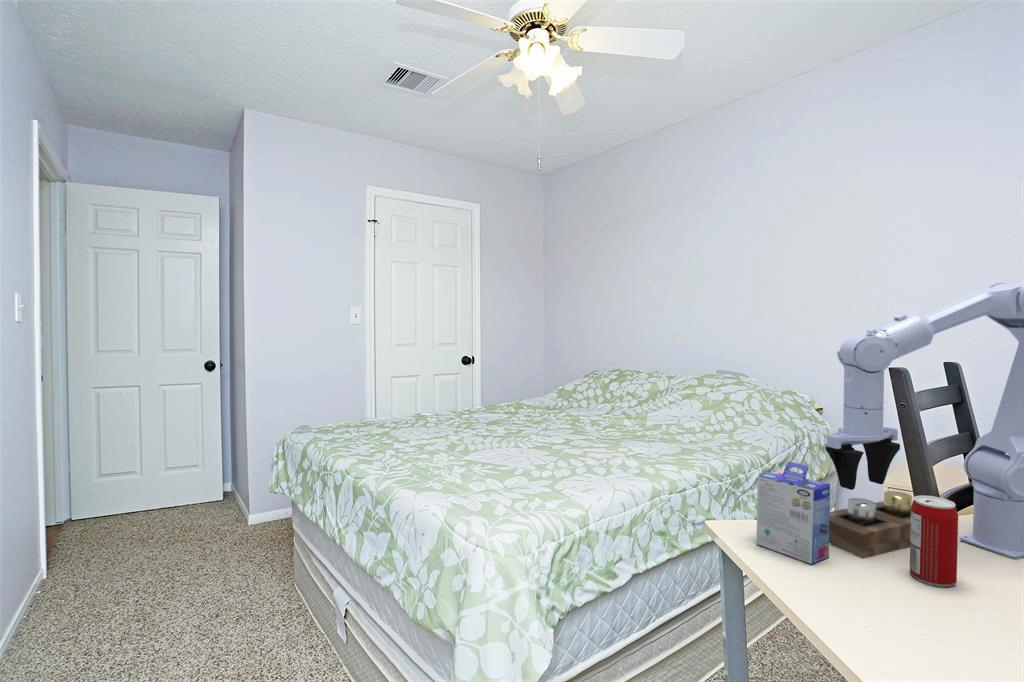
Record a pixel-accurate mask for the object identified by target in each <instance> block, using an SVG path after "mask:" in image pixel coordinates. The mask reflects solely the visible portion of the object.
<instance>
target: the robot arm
mask: <svg viewBox="0 0 1024 682" xmlns="http://www.w3.org/2000/svg"><path fill="white" fill-rule="evenodd" d="M985 316H986V317H987V318H988V319H990V320H992V321H993V322H995V323H997V324H998V325H1000V326H1001V327H1002V328H1005V329H1006V330H1008V331H1009V332H1010V333H1011V334H1012V336H1013V337H1014V338H1015V339H1016V341H1018V343H1017V344H1018V345H1017V347H1016V351H1015V354H1014V358H1013V361H1012V364H1011V367H1010V370H1009V373H1008V376H1007V379H1006V382H1005V386H1004V389H1003V393H1002V396H1001V399H1000V401H999V405H998V409H997V411H996V415H995V419H994V421H993V424H992V427H991V430H990V431H989V432H987V433H986V434H984V435H982V436H980V437H979V438H977V439H976V441H975V445H974V447H973V449H971V451H970V452H968V453H967V454H966V456H965V459H964V461H963V469H964V472H965V474H966V476H967V477H968V478H970V480H971V486H972V487H973V507H972V508H973V510H972V533H970V534H965V535H963V536H962V535H961V536H959V540H960V541H963V542H965V543H968V544H971V545H974V546H977V547H979V548H982V549H985V550H989V551H992V552H995V553H997V554H1000V555H1004V556H1006V557H1009V558H1012V559H1019V558H1021V557H1024V282H1023V281H1022V282H1011V283H1010V282H1007V283H1006V282H997V283H994V284H991V285H989V286H987V287H982V288H978V289H976V290H974V291H972V292H971V293H969V294H967V295H965V296H963V297H961V298H959V299H957V300H955V301H952V302H951V303H949V304H946V305H945V306H942V307H941V308H940V307H939V308H938V309H936V310H934V311H932V312H930V313H928V314H925V315H924V316H919V315H915V314H908V315H907V314H898V315H895V316H894V317H893V319H894V321H892V322H890V323H887V324H885V325H882V326H880V327H878V328H874V327H871V328H869V329H867V330H866V334H865V336H864V335H863V336H862V335H853V336H850V337H847V338H846V339H845V340H844V341H843V343H842V344H841V345H840V348H839V350H837V352H836V356H837V358H838V360H839V362H840V364H841V365H843V414H842V415H843V419H842V421H843V423H842V425H843V426H842V427H837V428H838V429H837V430H838V431H836V432H834V433H832V434H826V443H825V451H826V452H827V454H828V455H829V458H830V459H831V461H832V462H833V466H834V469H835V471H836V474H837V475H836V476H837V478H838V482H839V485H840V487H841V488H844V489H847V490H850V491H853V490H855V488H856V484H857V476H858V475H857V474H858V468H859V464H860V461H861V459H862V457H863V455H864V453H865V457H866V462H867V478H868V480H869V482H872V483H875V484H878V485H884V483H885V481H886V478H887V474H888V471H889V469H890V465H891V464H892V461H893V459H894V458H895V456H896V455H897V453H899V451H900V450H901V444H900V443H898V442H894V441H898V437H899V436H898V435H899V434H898V432H899V431H898V430H899V429H897V428H892V427H884V406H885V405H884V398H885V395H884V393H885V392H884V391H885V376H884V375H885V370H886V369H888V368H889V366H890V365H891V364H892V362H893V361H895V360H896V359H899V358H901V357H904V356H906V355H908V354H910V353H914V352H915V351H918V350H920V349H923V348H925V347H928V346H929V345H930V344H931V343H933V339H934V336H935V335H936V334H939V333H941V332H944V331H946V330H949V329H952V328H955V327H957V326H960V325H964V324H965V323H968V322H970V321H973V320H977V319H978V318H981V317H985ZM856 445H862V446H863V449H864V450H863V451H861V450H857V449H855V447H853V446H856Z"/></svg>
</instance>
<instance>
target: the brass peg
mask: <svg viewBox="0 0 1024 682" xmlns="http://www.w3.org/2000/svg"><path fill="white" fill-rule="evenodd" d="M912 498H913V497H912V495H911V494H909V493H905V492H902V491H901V492H900V491H896V490H887V491H884V492H883V501H884V512H885V513H888V514H891V515H894V516H897V517H900V518H905V517H910V516H911V506H912V503H913V500H912Z"/></svg>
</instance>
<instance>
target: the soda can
mask: <svg viewBox="0 0 1024 682" xmlns="http://www.w3.org/2000/svg"><path fill="white" fill-rule="evenodd" d="M958 537H959V515H958V510H957V507H956V503H955V502H954V501H951V500H949V499H947V498H943V497H939V496H934V495H916V496H914V497H913V500H912V506H911V532H910V547H909V548H910V549H909V572H910V573H911V575H912V576H913V577H914V578H915V579H916V580H917V581H919V582H921V583H924V584H927V585H930V586H934V587H942V588H944V587H945V588H946V587H947V588H948V587H952V586H953V585H954V584H956V583H957V579H958V578H957V577H958V543H959V542H958V539H959V538H958Z"/></svg>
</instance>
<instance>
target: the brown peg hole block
mask: <svg viewBox="0 0 1024 682" xmlns="http://www.w3.org/2000/svg"><path fill="white" fill-rule="evenodd" d="M875 503H876V518H875V524H873V525H869V526H863V525H860V524H858V523H855V522H852V521H850V520H848V507H847V508H844V509H838V510H833V511H830V513H829V543H831V544H830V545H832V544H833V545H832V546H834V547H837V548H839V549H841V550H843V551H846V552H848V553H850V554H852V553H853V555H855V556H857V557H859V558H861V559H866V558H870V557H874V556H879V555H883V554H887V553H890V552H895V551H898V550H903V549H907V548H910V532H911V516H910V517H905V518H900V517H897V516H894V515H891V514H888V513H885V512H884V500H883V501H877V502H875Z"/></svg>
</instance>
